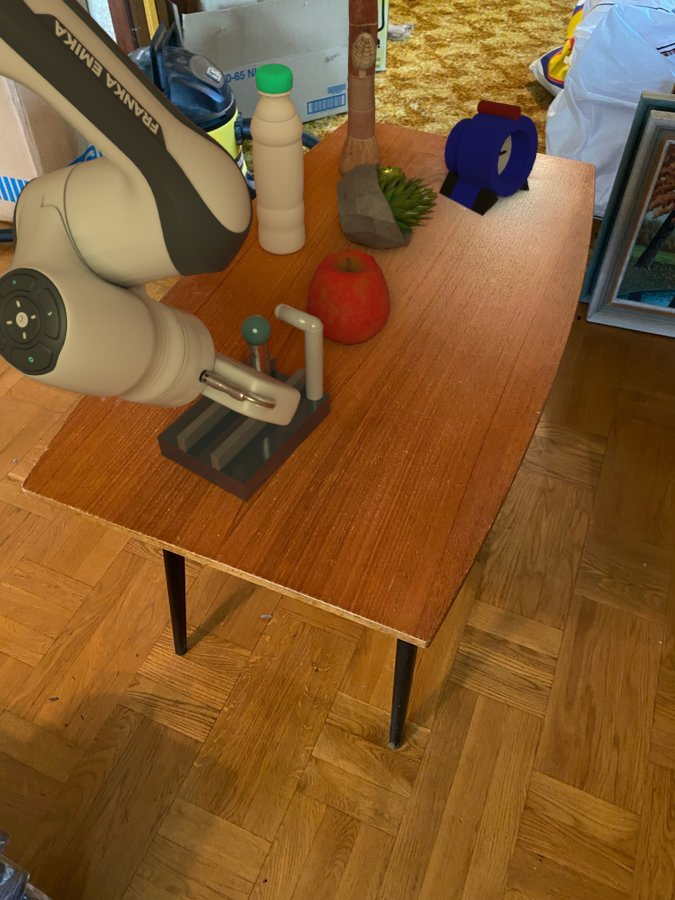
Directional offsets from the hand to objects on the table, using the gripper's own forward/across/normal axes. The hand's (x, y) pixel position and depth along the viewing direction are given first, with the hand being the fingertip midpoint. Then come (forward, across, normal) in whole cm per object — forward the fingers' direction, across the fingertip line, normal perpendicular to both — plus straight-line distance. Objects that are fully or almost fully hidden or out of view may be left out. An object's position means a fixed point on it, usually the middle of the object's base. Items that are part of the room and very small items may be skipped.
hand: (240, 376), depth 76 cm
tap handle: (+6, 0, +2) cm, 6 cm away
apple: (+22, +1, -10) cm, 25 cm away
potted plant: (+37, +8, -25) cm, 46 cm away
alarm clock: (+53, +2, -41) cm, 67 cm away
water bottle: (+30, +20, -18) cm, 40 cm away
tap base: (+6, 0, +6) cm, 9 cm away
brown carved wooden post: (+48, +22, -36) cm, 63 cm away
